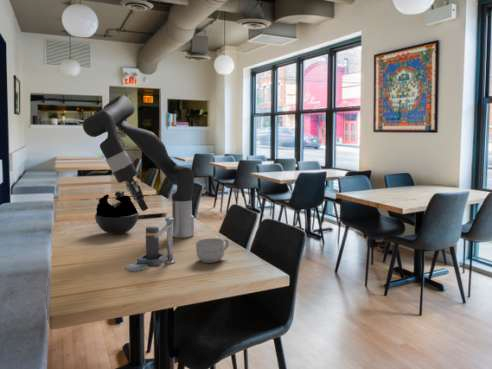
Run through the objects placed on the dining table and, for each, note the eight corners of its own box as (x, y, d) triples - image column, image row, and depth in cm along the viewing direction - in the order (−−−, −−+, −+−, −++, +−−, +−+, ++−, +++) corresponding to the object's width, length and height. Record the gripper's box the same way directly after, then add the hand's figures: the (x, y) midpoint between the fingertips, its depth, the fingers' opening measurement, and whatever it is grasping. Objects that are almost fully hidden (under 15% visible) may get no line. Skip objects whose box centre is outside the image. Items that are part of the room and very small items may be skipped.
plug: (155, 258, 168) (155, 226, 166) (161, 261, 164) (161, 228, 162) (143, 260, 165) (143, 227, 163) (149, 264, 161) (148, 230, 159)
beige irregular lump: (110, 220, 240) (109, 188, 237) (130, 218, 245) (130, 187, 242) (116, 226, 226) (115, 192, 224) (137, 224, 231) (136, 190, 229)
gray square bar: (166, 225, 164) (166, 217, 163) (174, 225, 163) (174, 217, 163) (151, 238, 144) (151, 229, 143) (160, 238, 143) (160, 229, 143)
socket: (145, 257, 170) (145, 252, 169) (167, 258, 168) (167, 253, 168) (136, 264, 161) (136, 259, 160) (160, 265, 160) (159, 260, 159)
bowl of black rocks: (145, 235, 206) (144, 196, 203) (102, 241, 194) (101, 200, 192) (130, 227, 222) (129, 191, 220) (90, 232, 211) (89, 194, 208)
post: (172, 260, 166) (172, 219, 164) (177, 262, 163) (176, 221, 161) (163, 261, 164) (162, 221, 162) (167, 264, 161) (166, 222, 159)
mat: (143, 263, 162) (143, 262, 162) (151, 268, 156) (151, 267, 156) (122, 266, 158) (122, 265, 158) (130, 272, 151) (130, 271, 151)
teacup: (202, 266, 158) (201, 245, 157) (191, 259, 168) (191, 238, 167) (236, 261, 165) (236, 241, 164) (224, 254, 174) (224, 235, 173)
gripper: (109, 172, 156) (132, 213, 159) (114, 171, 143) (139, 216, 147) (128, 162, 158) (150, 204, 162) (135, 161, 146) (158, 205, 150)
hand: (145, 209), depth 154 cm, fingers closed
